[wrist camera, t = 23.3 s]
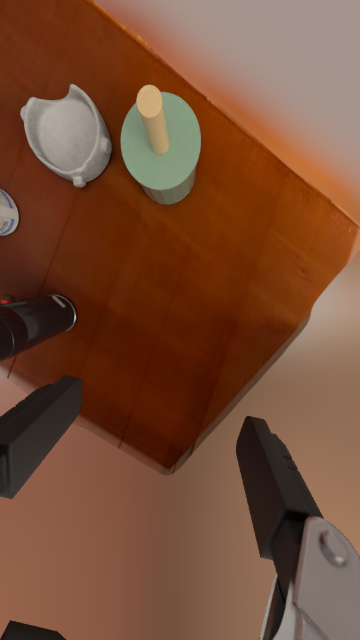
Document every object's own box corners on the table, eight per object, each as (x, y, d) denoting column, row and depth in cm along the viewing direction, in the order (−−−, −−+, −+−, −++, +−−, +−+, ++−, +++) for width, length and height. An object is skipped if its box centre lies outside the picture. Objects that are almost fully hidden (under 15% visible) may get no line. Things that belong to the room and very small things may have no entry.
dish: (30, 132, 37) (6, 112, 33) (85, 84, 35) (68, 55, 30) (74, 203, 40) (58, 194, 35) (127, 164, 38) (118, 148, 33)
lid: (118, 184, 32) (92, 153, 23) (128, 90, 28) (101, 17, 20) (191, 199, 32) (190, 174, 23) (209, 107, 28) (215, 39, 20)
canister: (135, 198, 39) (120, 179, 31) (143, 132, 36) (128, 91, 28) (189, 209, 39) (187, 193, 31) (201, 143, 36) (204, 107, 28)
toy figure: (14, 286, 46) (-15, 288, 39) (35, 298, 46) (9, 303, 40) (-8, 343, 50) (-38, 354, 44) (11, 354, 51) (-15, 366, 44)
